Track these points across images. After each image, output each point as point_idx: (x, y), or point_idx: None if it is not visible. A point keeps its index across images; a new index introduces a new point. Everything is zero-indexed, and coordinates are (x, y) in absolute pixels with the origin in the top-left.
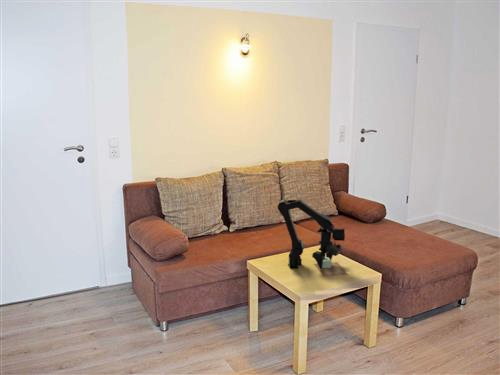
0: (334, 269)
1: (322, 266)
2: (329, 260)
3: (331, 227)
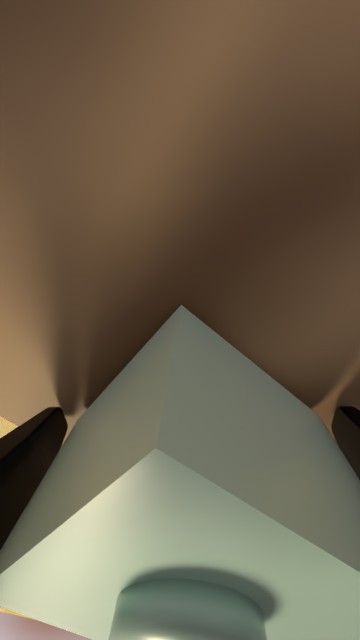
0: (201, 201)
1: (324, 434)
2: (188, 516)
3: None
